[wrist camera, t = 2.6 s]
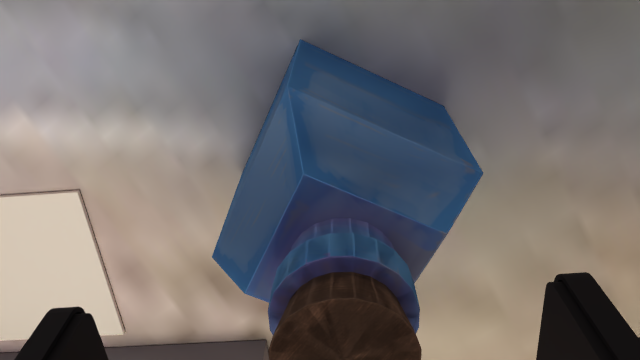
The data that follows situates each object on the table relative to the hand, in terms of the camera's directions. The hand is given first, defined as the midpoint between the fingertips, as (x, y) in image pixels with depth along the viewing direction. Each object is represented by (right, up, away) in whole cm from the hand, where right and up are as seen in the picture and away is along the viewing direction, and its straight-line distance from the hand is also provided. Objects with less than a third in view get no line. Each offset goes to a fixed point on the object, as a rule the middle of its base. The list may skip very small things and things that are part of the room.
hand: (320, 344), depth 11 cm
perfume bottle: (+1, +5, +11) cm, 12 cm away
